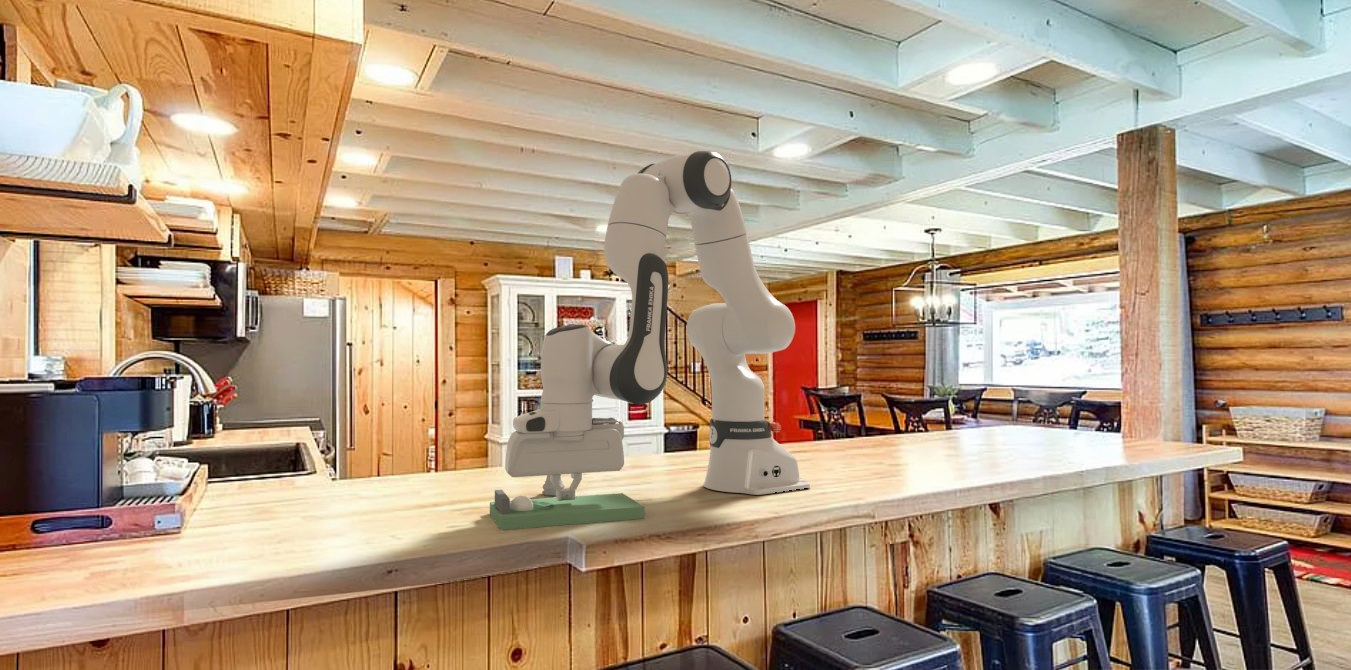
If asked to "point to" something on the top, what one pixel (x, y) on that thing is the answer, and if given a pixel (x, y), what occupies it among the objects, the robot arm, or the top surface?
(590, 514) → the green board
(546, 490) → the rook chess piece
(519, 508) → the ball
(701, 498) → the top surface
